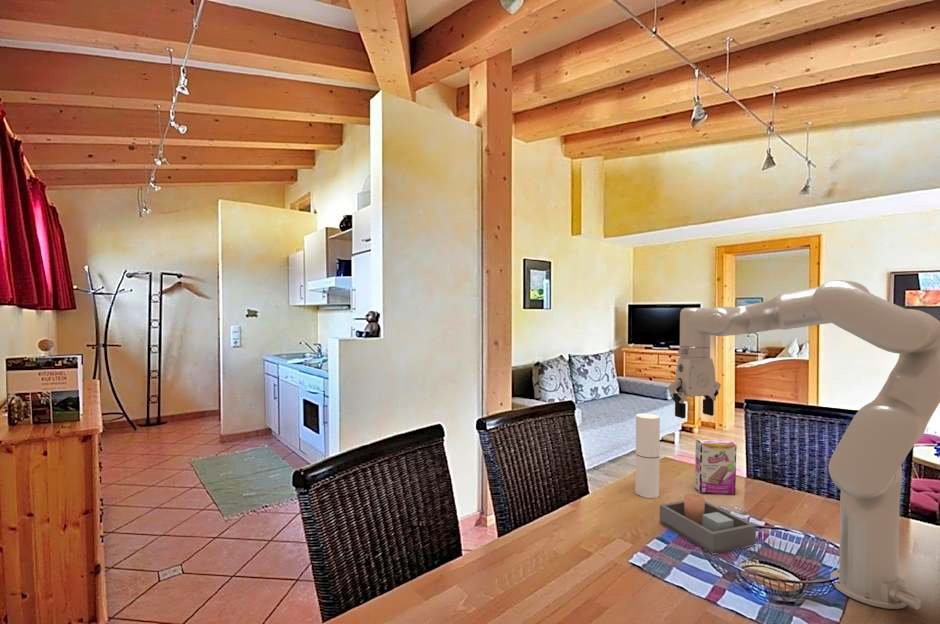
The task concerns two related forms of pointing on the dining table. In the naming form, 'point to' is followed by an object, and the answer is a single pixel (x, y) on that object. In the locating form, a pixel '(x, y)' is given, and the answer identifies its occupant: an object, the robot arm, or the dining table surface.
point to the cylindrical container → (647, 455)
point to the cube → (716, 521)
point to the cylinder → (694, 507)
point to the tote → (702, 536)
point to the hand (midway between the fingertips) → (694, 415)
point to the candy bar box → (715, 467)
